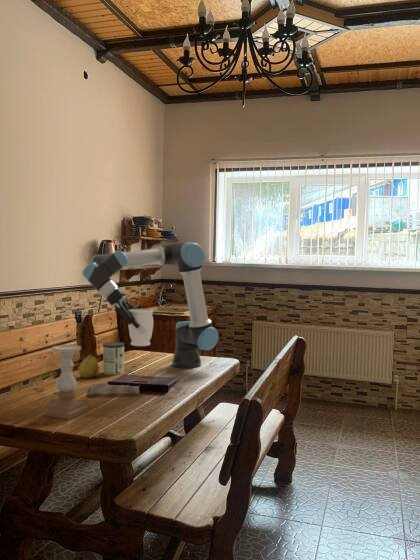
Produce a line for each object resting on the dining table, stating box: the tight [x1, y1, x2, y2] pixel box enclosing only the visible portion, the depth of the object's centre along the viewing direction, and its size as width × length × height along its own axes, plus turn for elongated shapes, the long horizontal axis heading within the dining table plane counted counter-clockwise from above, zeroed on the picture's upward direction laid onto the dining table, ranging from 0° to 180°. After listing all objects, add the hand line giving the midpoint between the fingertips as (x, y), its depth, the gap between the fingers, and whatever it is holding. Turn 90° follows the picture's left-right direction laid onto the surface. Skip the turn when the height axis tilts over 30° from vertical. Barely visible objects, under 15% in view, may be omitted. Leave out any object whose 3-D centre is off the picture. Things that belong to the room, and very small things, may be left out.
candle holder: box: [44, 344, 89, 421], centre depth 176 cm, size 11×11×24 cm
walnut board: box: [88, 383, 140, 398], centre depth 207 cm, size 20×16×1 cm
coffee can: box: [102, 341, 125, 376], centre depth 239 cm, size 10×10×14 cm
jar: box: [127, 308, 154, 347], centre depth 210 cm, size 11×10×15 cm
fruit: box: [78, 351, 100, 379], centre depth 229 cm, size 9×9×12 cm
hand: (147, 330), depth 210 cm, fingers closed on jar, 10 cm apart
